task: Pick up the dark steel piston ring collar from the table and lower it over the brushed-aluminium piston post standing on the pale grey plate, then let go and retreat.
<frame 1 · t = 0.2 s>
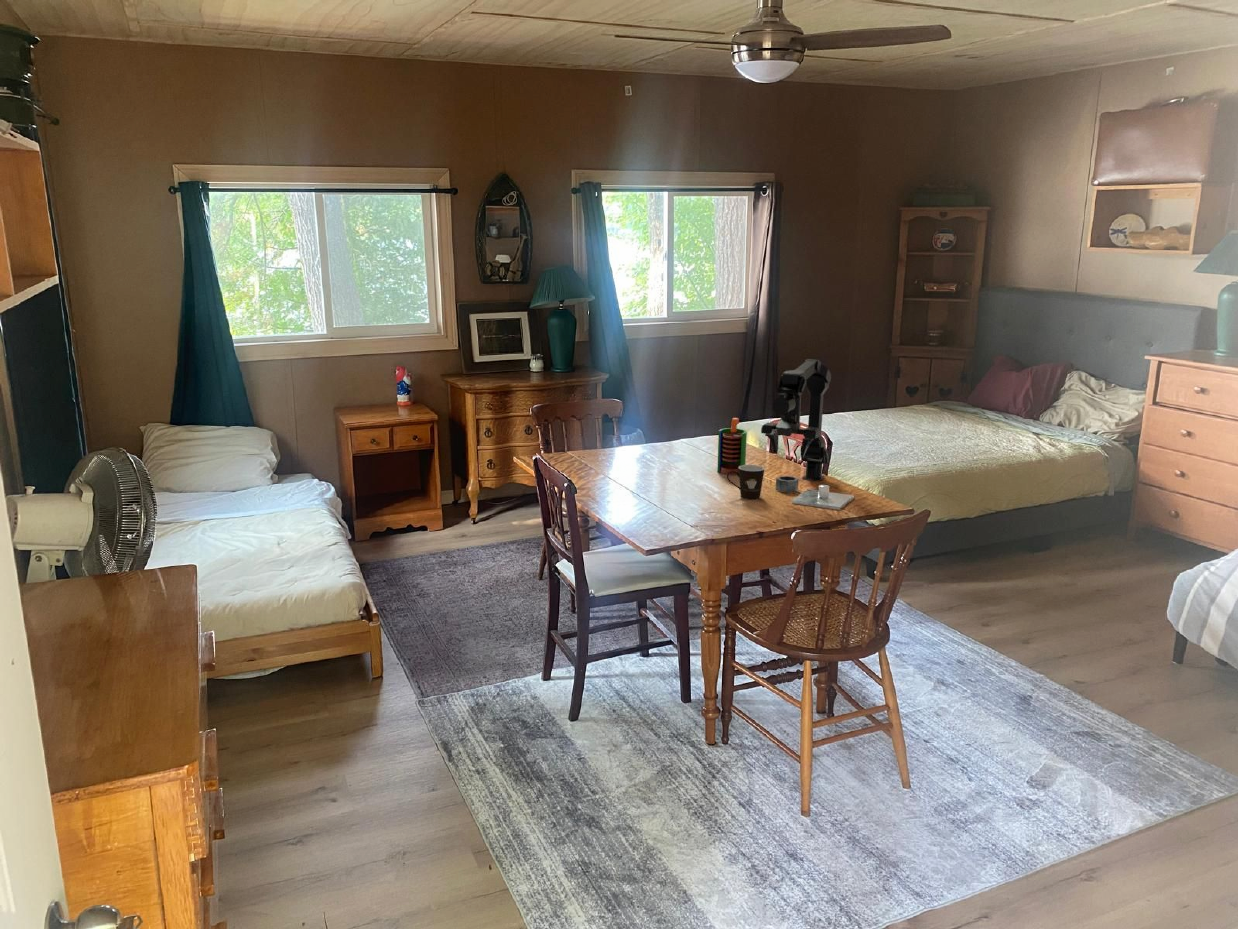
hand: (789, 455, 315), 14 cm above the table, fingers open, 9 cm apart
coffee mug: (746, 496, 316), on the table
motor: (731, 472, 348), on the table
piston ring: (786, 489, 324), on the table
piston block: (823, 500, 311), on the table
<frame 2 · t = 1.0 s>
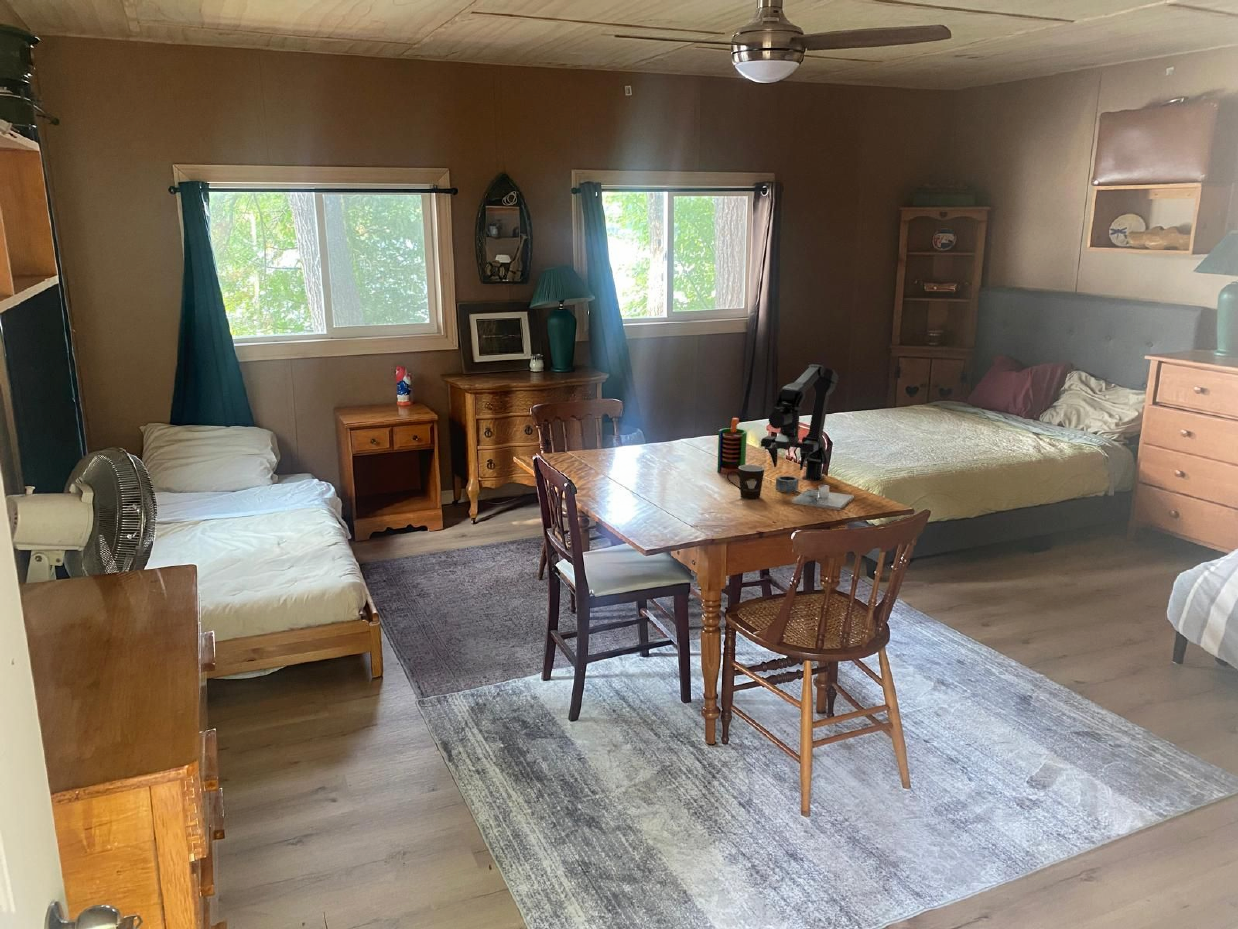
hand: (788, 468, 323), 7 cm above the table, fingers open, 9 cm apart
nothing on the table moved.
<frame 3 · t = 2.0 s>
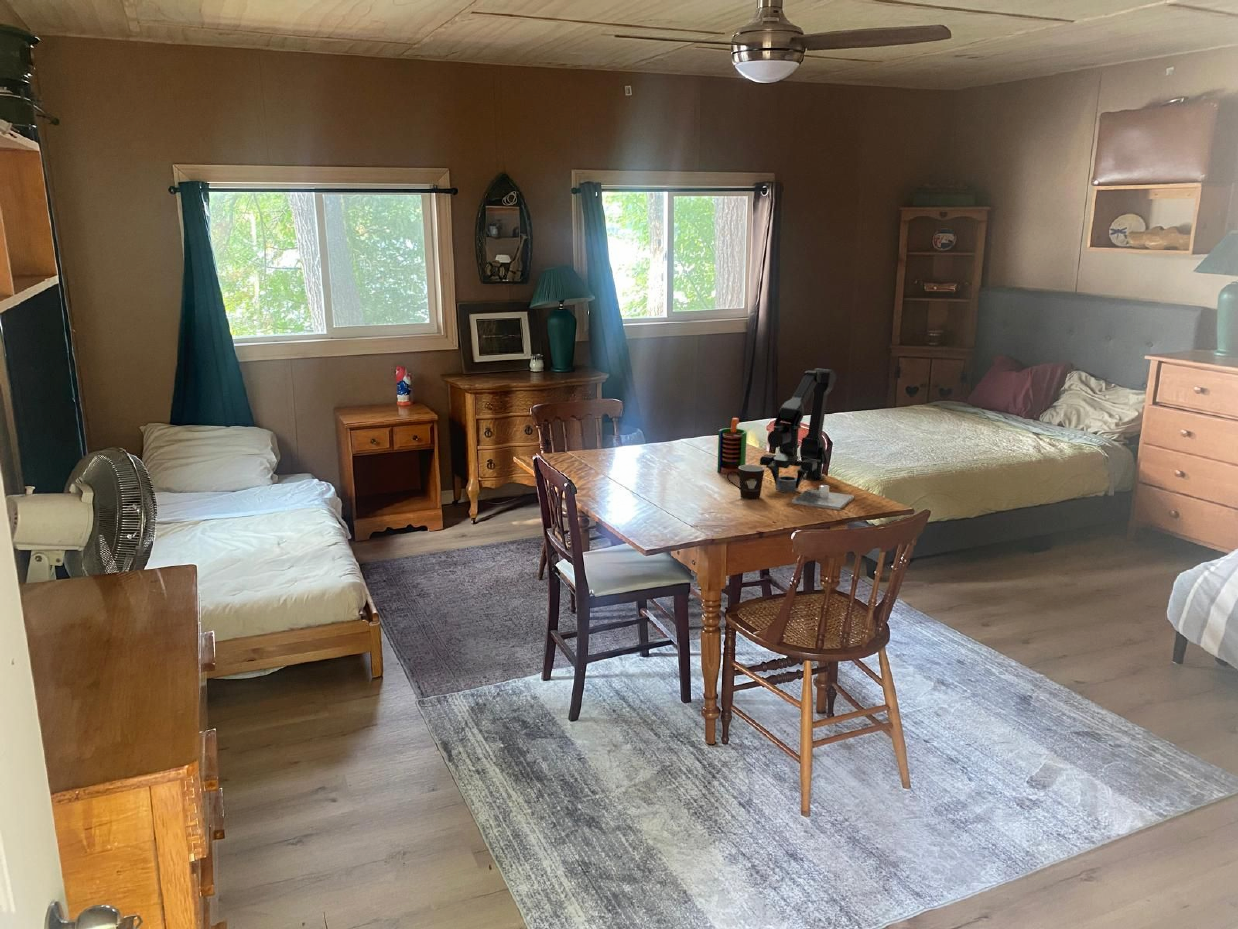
hand: (787, 486, 324), 1 cm above the table, fingers closed on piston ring, 7 cm apart
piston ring: (786, 489, 324), on the table, touching gripper
everything else where it was.
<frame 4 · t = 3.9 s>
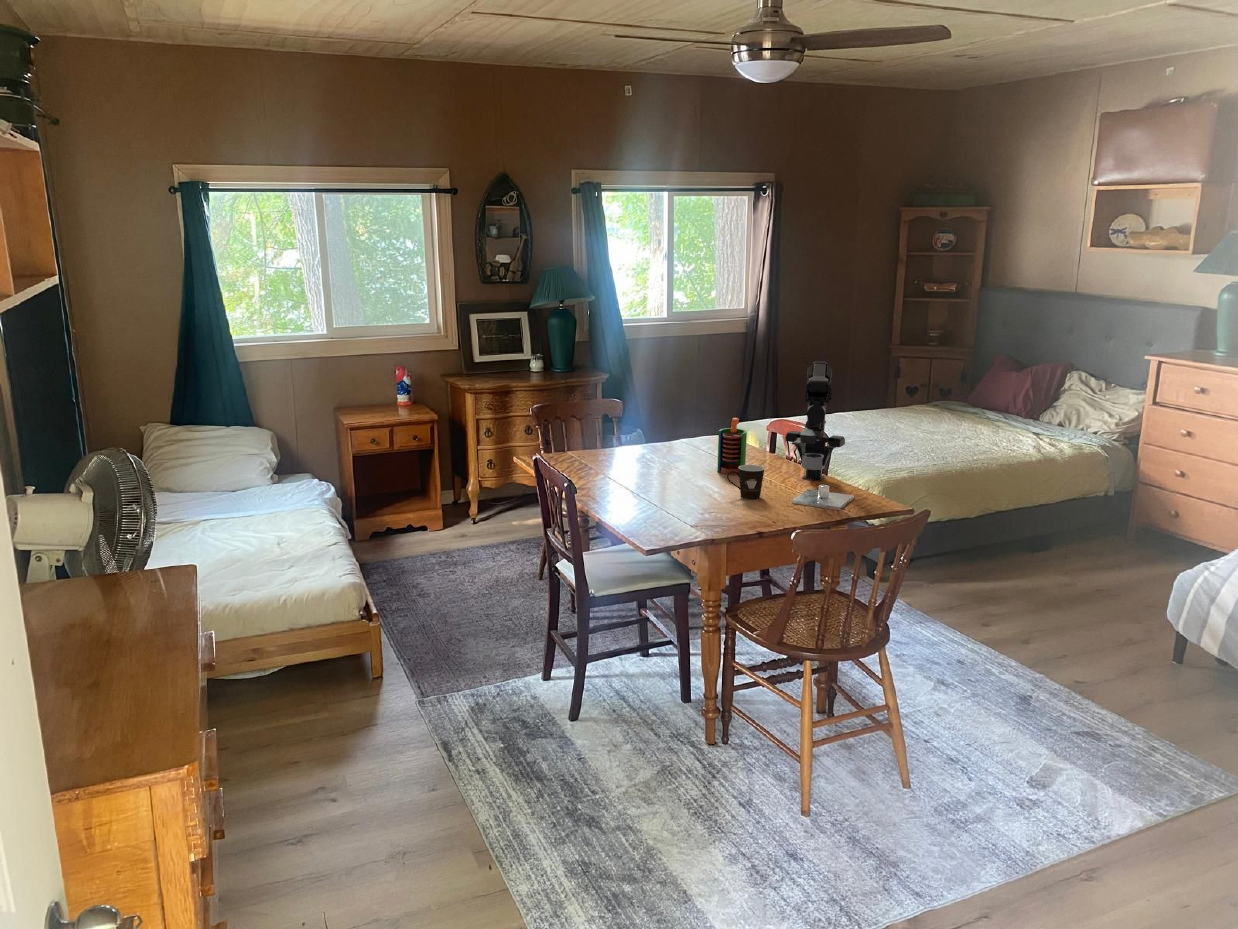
hand: (813, 464, 312), 11 cm above the table, fingers closed on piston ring, 7 cm apart
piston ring: (813, 467, 312), point 10 cm above the table, touching gripper
everything else where it was.
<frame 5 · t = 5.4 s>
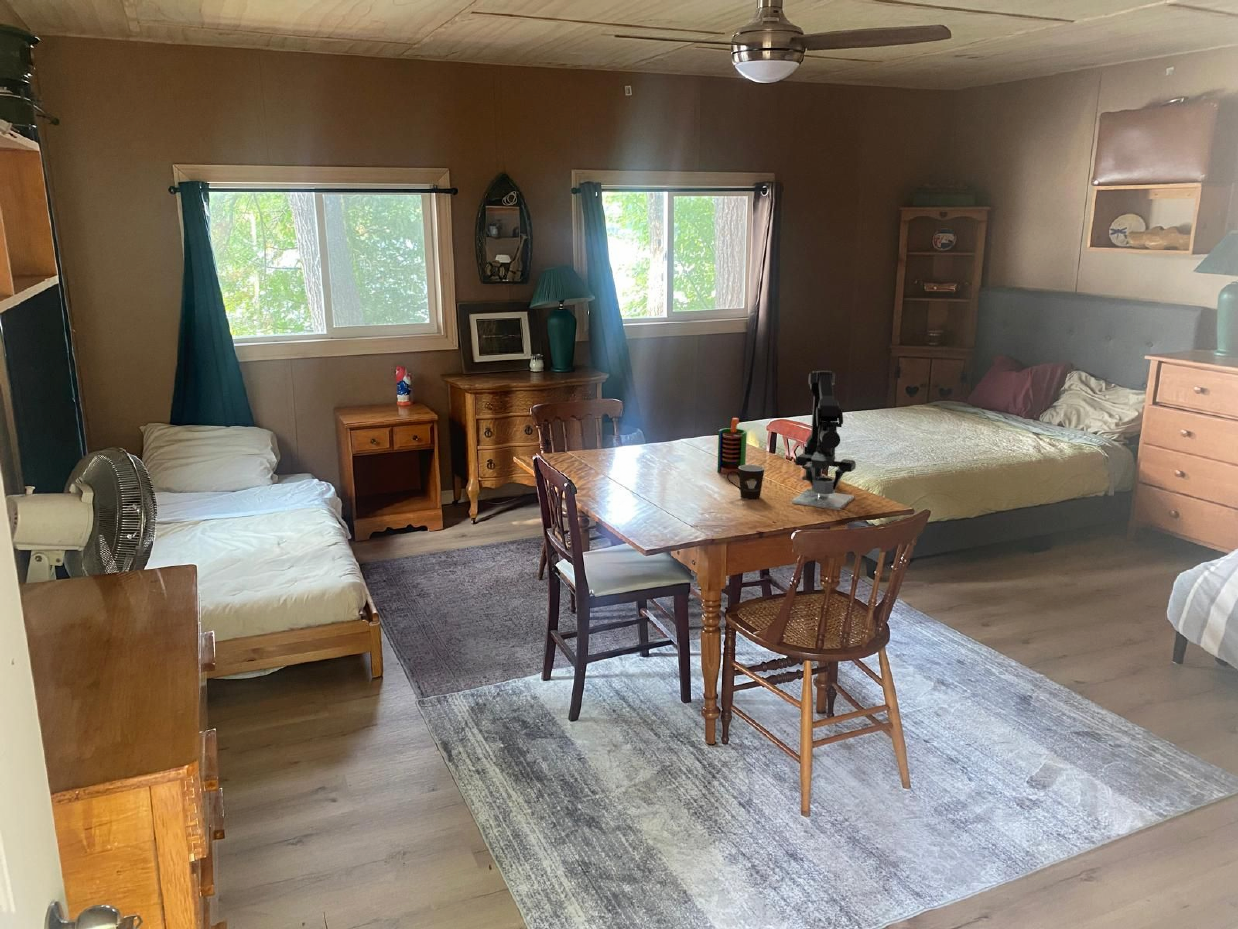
hand: (823, 488, 310), 4 cm above the table, fingers closed on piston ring, 7 cm apart
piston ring: (823, 491, 311), point 3 cm above the table, touching gripper
everything else where it was.
when the fingers open (3 cm above the table, at t = 6.1 s): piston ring drops 1 cm, resting on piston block.
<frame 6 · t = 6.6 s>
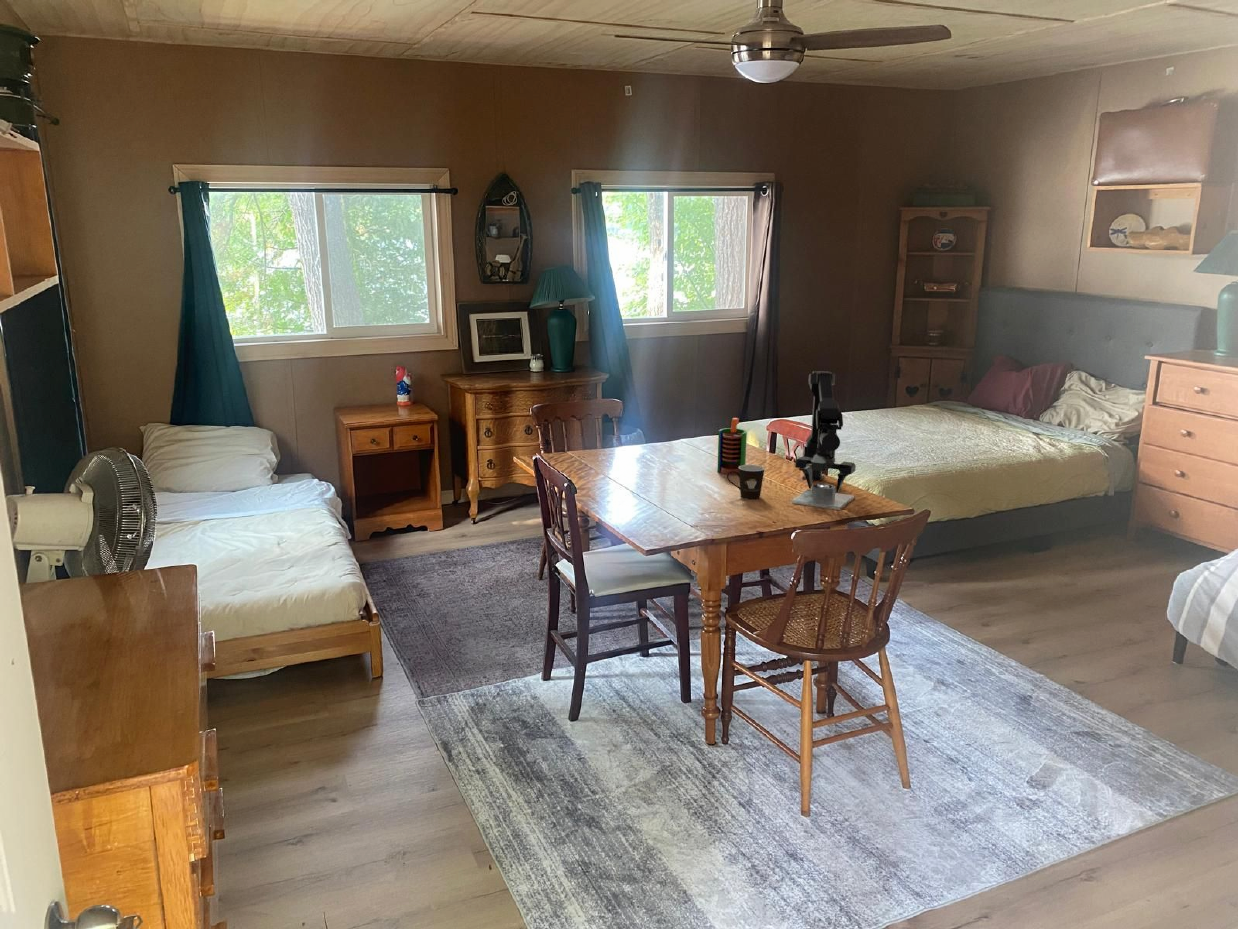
hand: (823, 490, 311), 3 cm above the table, fingers open, 9 cm apart
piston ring: (823, 497, 311), point 1 cm above the table, touching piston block
everything else where it was.
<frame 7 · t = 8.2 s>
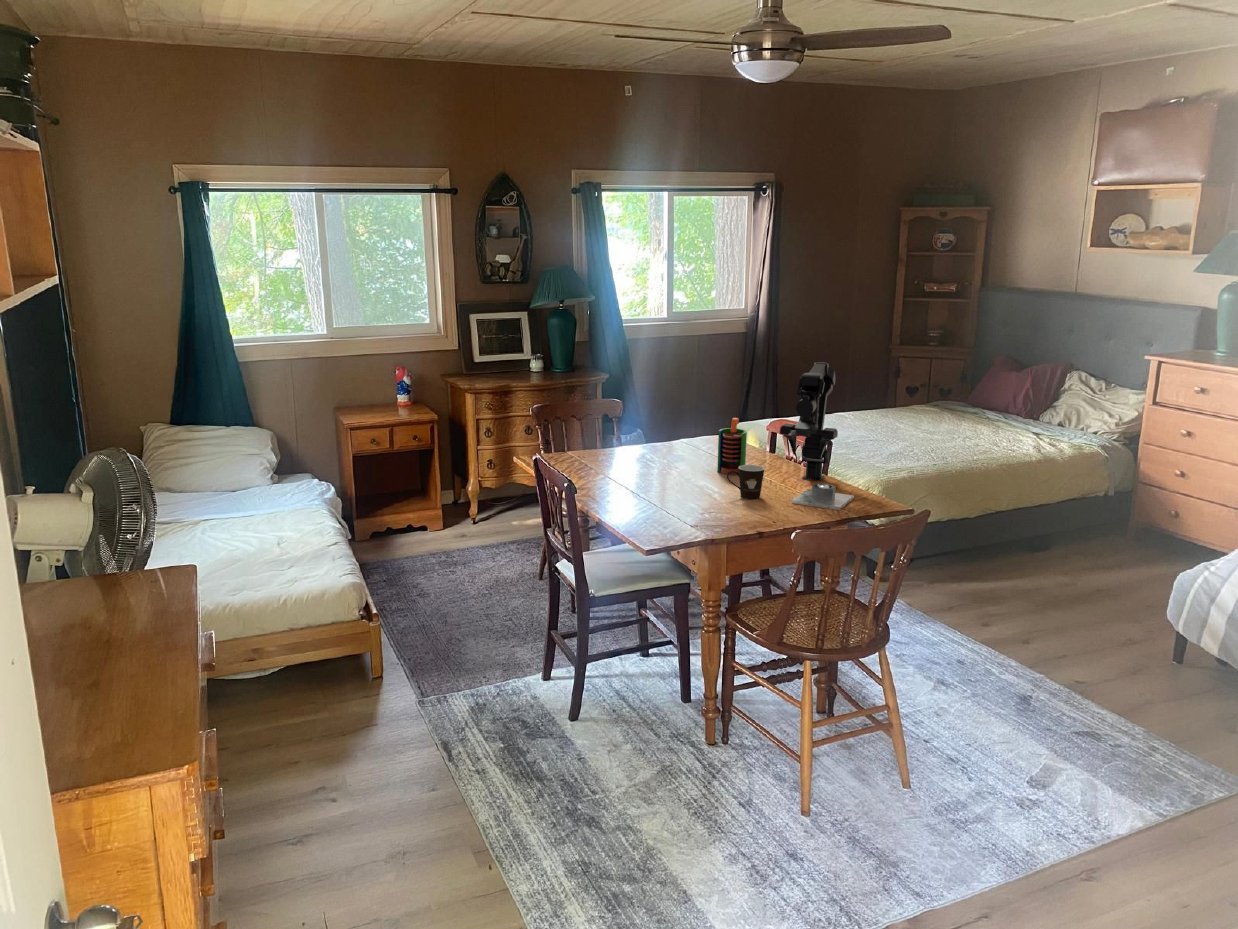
hand: (807, 455, 322), 12 cm above the table, fingers open, 9 cm apart
nothing on the table moved.
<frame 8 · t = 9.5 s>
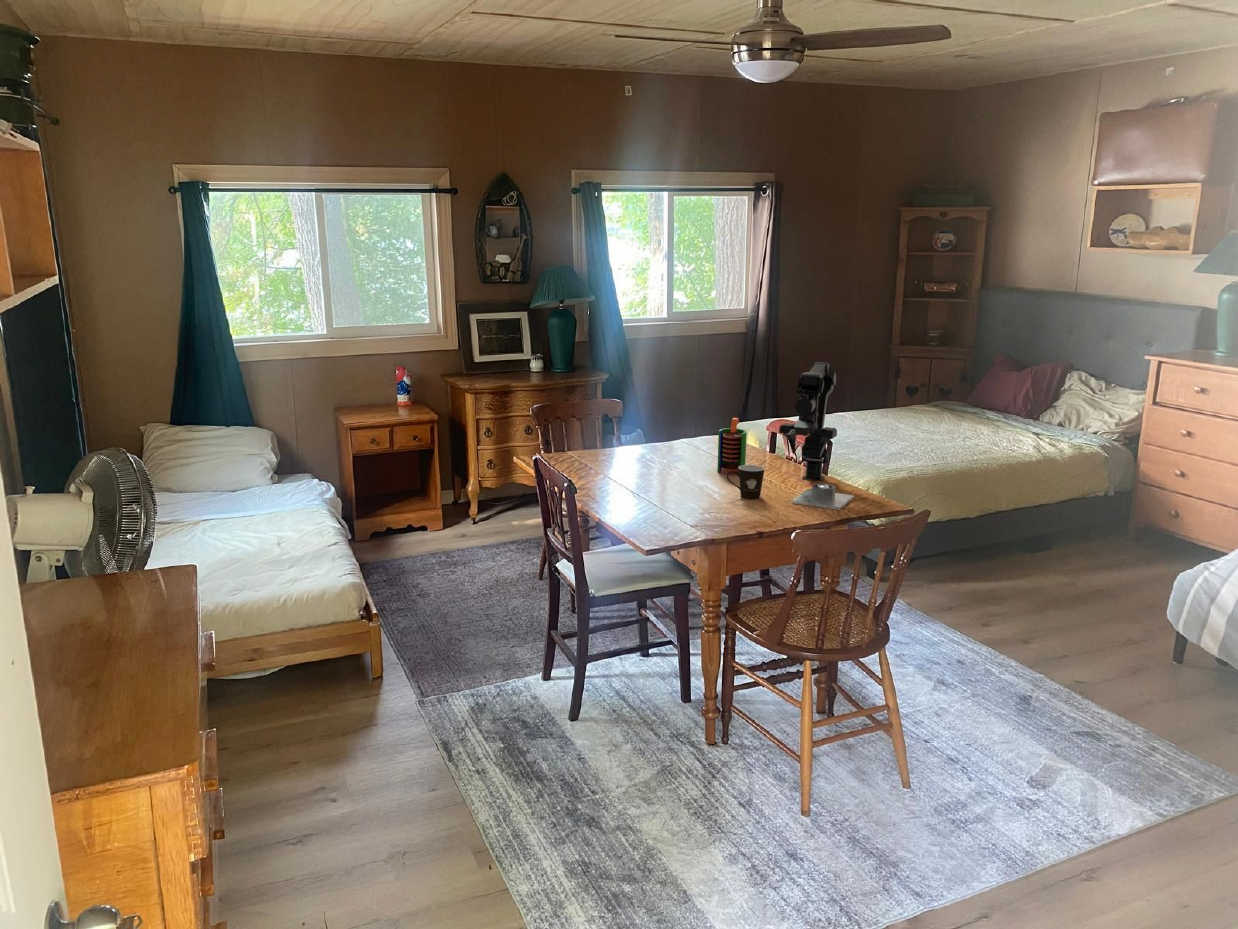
hand: (806, 455, 323), 12 cm above the table, fingers open, 9 cm apart
nothing on the table moved.
at the end: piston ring 0.1 cm off-centre on the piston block, point 1.0 cm above the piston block's base; the gripper is holding nothing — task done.
